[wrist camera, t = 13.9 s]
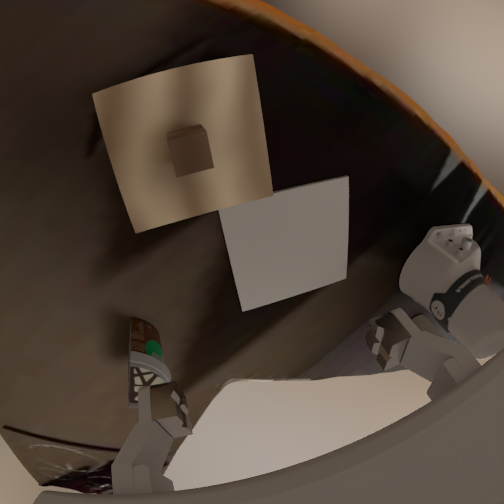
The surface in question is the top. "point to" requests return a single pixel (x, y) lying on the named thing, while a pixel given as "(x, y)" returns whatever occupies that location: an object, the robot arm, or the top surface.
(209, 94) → the tan block
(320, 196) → the white paper sheet
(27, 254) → the top surface
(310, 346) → the top surface
